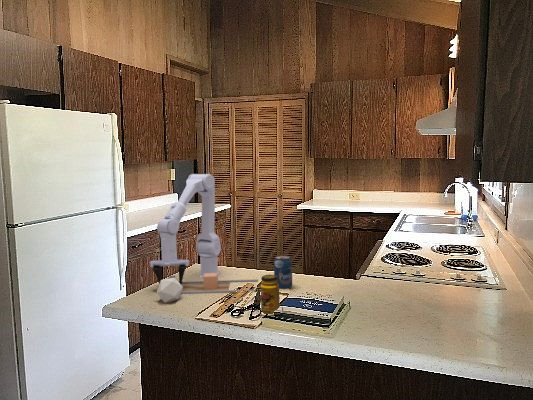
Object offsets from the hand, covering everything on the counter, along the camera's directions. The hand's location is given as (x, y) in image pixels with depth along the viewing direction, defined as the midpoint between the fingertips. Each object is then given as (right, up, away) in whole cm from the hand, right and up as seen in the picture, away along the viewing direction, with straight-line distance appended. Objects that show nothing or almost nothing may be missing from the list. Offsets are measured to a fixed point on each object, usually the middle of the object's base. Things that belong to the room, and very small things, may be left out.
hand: (170, 284), depth 172 cm
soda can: (+44, -1, -1) cm, 44 cm away
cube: (+16, -1, 0) cm, 16 cm away
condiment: (+39, -4, -27) cm, 47 cm away
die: (+3, -4, -13) cm, 13 cm away
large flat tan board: (+11, -2, 0) cm, 11 cm away
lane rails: (+16, -2, 0) cm, 16 cm away
